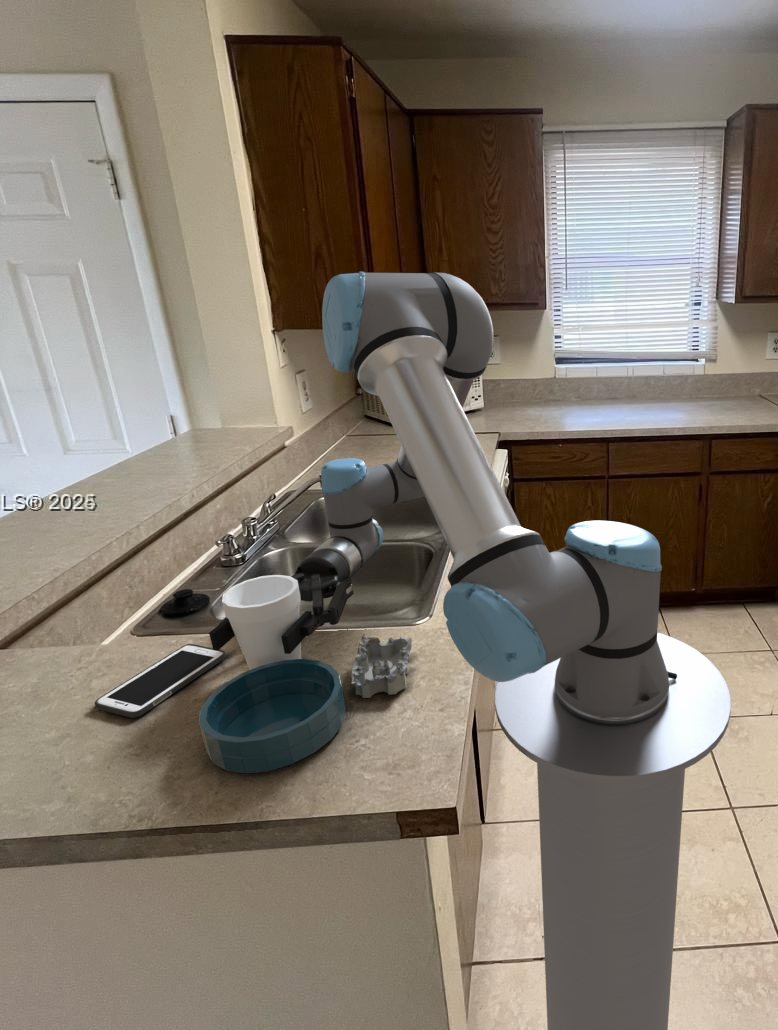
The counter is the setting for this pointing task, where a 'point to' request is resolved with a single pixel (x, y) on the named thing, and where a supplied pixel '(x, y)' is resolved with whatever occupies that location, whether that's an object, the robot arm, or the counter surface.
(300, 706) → the bowl
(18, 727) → the counter surface
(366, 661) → the egg carton
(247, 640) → the foam cup
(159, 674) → the cell phone
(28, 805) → the counter surface
